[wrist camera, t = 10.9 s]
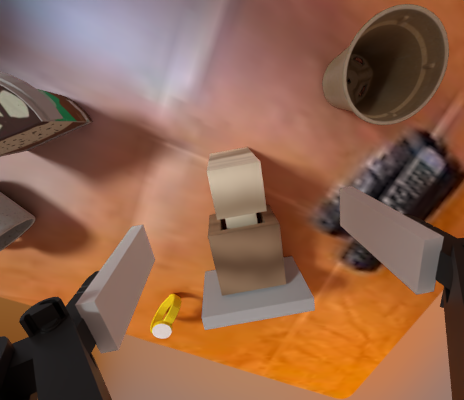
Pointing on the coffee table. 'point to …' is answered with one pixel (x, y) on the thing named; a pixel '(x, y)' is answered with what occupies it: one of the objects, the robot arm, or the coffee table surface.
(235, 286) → the block
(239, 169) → the cream l-shaped piece
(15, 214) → the ceramic mug
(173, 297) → the watch
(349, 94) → the flower pot
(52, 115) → the half-round slice
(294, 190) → the coffee table surface
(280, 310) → the wall
